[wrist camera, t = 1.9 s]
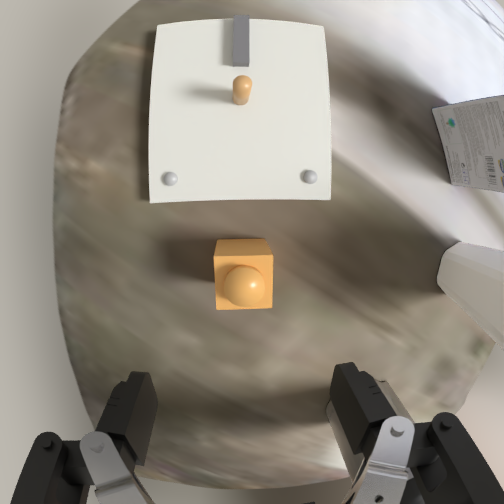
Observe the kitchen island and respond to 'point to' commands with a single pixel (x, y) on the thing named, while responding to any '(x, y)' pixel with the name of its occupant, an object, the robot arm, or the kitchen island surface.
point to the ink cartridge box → (474, 142)
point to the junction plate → (239, 111)
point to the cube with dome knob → (243, 274)
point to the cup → (476, 285)
